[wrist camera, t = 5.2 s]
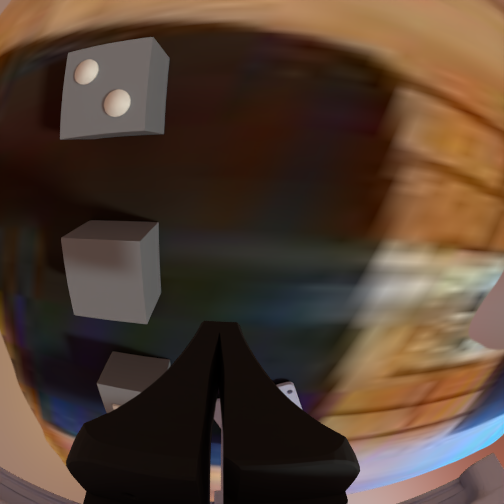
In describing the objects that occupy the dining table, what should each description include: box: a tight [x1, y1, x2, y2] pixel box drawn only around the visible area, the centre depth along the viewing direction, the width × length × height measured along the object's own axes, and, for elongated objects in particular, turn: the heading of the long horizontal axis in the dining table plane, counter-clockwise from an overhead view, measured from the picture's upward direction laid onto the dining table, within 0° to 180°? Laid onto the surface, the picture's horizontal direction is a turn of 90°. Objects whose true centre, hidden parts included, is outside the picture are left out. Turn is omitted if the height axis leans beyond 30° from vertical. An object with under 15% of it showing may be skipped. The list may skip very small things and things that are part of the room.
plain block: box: [61, 220, 161, 324], centre depth 17 cm, size 5×5×4 cm
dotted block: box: [60, 37, 170, 139], centre depth 13 cm, size 5×5×4 cm
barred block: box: [97, 351, 170, 413], centre depth 20 cm, size 5×5×4 cm
